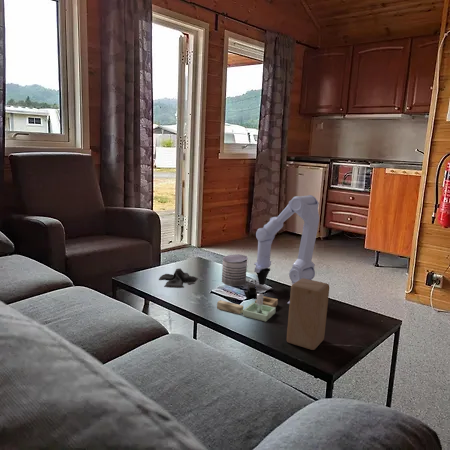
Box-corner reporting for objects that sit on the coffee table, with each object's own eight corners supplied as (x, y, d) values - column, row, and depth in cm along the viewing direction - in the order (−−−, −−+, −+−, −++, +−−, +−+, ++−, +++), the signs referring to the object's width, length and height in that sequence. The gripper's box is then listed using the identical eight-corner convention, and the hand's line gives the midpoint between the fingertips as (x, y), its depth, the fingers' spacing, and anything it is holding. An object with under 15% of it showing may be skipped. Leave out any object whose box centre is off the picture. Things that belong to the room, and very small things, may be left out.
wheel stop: (243, 312, 159) (243, 305, 159) (240, 314, 157) (240, 307, 157) (219, 306, 164) (220, 300, 163) (216, 308, 162) (217, 302, 161)
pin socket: (277, 304, 169) (277, 299, 168) (271, 310, 162) (271, 304, 162) (261, 301, 172) (261, 295, 171) (254, 306, 165) (254, 300, 165)
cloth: (169, 291, 179) (170, 277, 177) (150, 278, 193) (150, 266, 192) (212, 283, 192) (213, 270, 190) (192, 272, 206) (192, 260, 205)
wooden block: (314, 352, 131) (320, 291, 128) (284, 342, 137) (289, 284, 133) (324, 340, 140) (330, 283, 136) (296, 332, 145) (301, 276, 141)
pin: (263, 312, 159) (264, 294, 157) (260, 315, 157) (261, 295, 155) (257, 311, 160) (258, 292, 158) (254, 313, 158) (256, 294, 156)
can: (248, 286, 189) (249, 260, 187) (223, 286, 187) (224, 260, 185) (243, 278, 200) (245, 253, 198) (220, 278, 198) (221, 253, 196)
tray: (275, 313, 160) (275, 307, 160) (266, 321, 152) (266, 315, 152) (252, 307, 164) (253, 302, 164) (242, 315, 156) (243, 310, 156)
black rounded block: (262, 302, 173) (263, 291, 172) (244, 301, 172) (245, 291, 171) (257, 291, 185) (257, 281, 184) (240, 290, 184) (241, 280, 183)
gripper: (261, 249, 192) (259, 278, 195) (248, 256, 179) (246, 286, 182) (276, 252, 189) (274, 281, 192) (264, 259, 176) (261, 290, 179)
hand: (261, 284), depth 187 cm, fingers closed
